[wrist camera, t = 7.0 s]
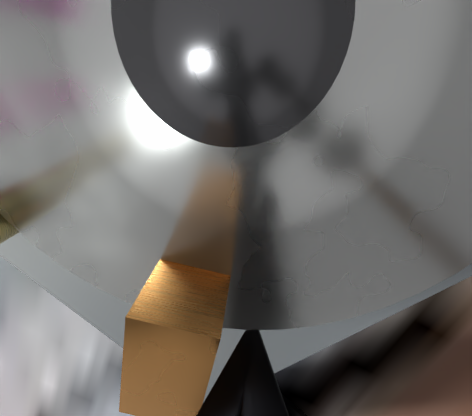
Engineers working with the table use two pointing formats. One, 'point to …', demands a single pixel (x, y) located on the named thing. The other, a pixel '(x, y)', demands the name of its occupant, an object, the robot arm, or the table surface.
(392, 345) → the table surface
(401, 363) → the table surface
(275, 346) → the jig block
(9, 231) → the dowel
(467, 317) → the table surface
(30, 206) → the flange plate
